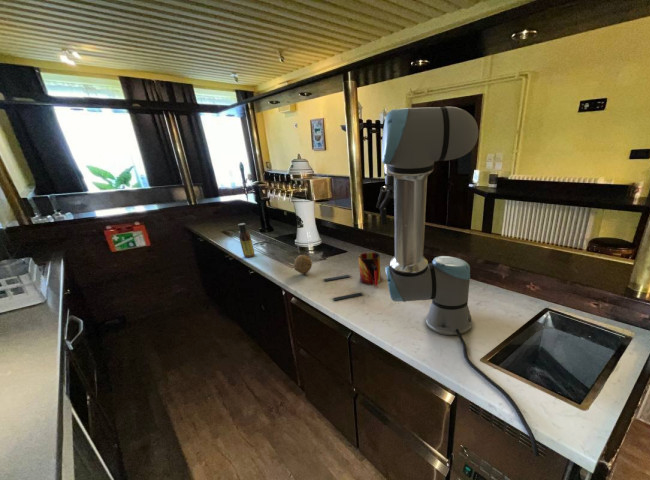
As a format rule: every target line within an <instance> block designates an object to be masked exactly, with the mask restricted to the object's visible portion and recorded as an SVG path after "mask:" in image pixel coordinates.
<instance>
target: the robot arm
mask: <svg viewBox="0 0 650 480" xmlns="http://www.w3.org/2000/svg"><path fill="white" fill-rule="evenodd" d="M478 138H479V127H478V123H477V121H476V119H475V118H474V117H473V115H471V114H470V113H469V112H468V111H467V110H465V109H462V108H459V107H456V106H436V107H435V106H434V107H433V106H432V107H403V108H397V109H396V108H395V109H391V110H389V111H388V112H387V114H386V115H385V118H384V124H383V131H382V142H381V162H382V164H383V165H384V174H385V176H384V182H385V183H384V184H385V185H384V186H380V191H379V195H378V198H377V202H376V205H375V207H376V209H378V210H379V217H380V223H381V226H385V225H387V224H388V221H387V208H386V207H387V205H388V204H389V202H390V201H391V199H393V201H394V202H393V205H394V207H393V208H394V209H393V210H394V211H393V212H394V213H393V214H394V217H393V218H394V256H393V257H391V259H390V260H389V265H387V266H385V269H384V270H385V274H386V280H387V285H388V292H389V297H390V299H391V301H393V302H395V303H397V302H401V303H402V302H403V303H407V302H416V301H430V300H431V303H429V310H428V313H427V314H426V319H425V323H426V327H427V328H428V329H430V330H431V331H432V332H434V333H436V334H438V335H443V336H458V338H459V340H460V342H461V345H462V350H463V351H462V352H463V356H464V358H465V361H466V362H467V364H468V366H470V367H471V369H473V370H474V371H475V372H476V373H477V374H479V375H480V376H481V377H482V378H483V379H485V380H486V382H488V383H489V384H490V385H491V386H493V387H494V388H495V389H496V390H497V391H499V392H500V393H501V394H502V395H503V397H505V398H506V400H507V401H508V402H509V403H510V405H511V406H512V407H513V409H514V410H515V412H516V414H517V415H518V416H517V417H518V418H519V419H520V421H521V423H522V425H523V427H524V429H525V430H526V433H527V434H528V437H529V439H530V442H531V445H532V446H531V447H532V451H533V454H534V456H536V457H540V450H539V447H538V443H537V439H536V437H535V435H534V433H533V431H532V429H531V427H530V426H529V424H528V422H527V420H526V418H525V417H524V415H523V412H522V411H521V409H520V407H519V406H518V405H517V403H516V402H515V400H514V399H513V398H512V397H511V396H510V394H509V393H508V392H507V391H506V390H505V389H504V388H502V387H501V386H500V385H499V384H498V383H496V381H494V380H492V379H491V378H490V377H489V376H488V375H487V374H485V372H484V371H482V370H481V369H480V368H478V367H477V366H476V365H475V364H474V363H473V362H472V361H471V360H470V358H469V355H468V351H467V350H468V348H467V345H466V342H465V340H464V338H463V336H462V335H463V334H466V333H467V332H469V331H470V330H471V328H472V323H473V320H472V316H471V312H470V309H469V303H468V302H469V292H470V281H471V266H470V263H468V262H467V261H466V260H463V259H462V258H459V257H455V256H449V255H440V256H436V257H434V258H433V260H432V262H431V263H429V262H428V261H429V260H428V259H427V258H426V257H425V256H424V251H425V250H424V249H425V248H424V247H425V230H426V229H425V228H426V210H427V209H426V206H427V191H428V190H427V189H428V176H429V175H431V173H433V171H434V169H435V162H443V161H452V160H457V159H459V158H462V157H464V156H466V155H468V154H469V153H470V152H471V151H473V149H474V147H475V146H476V144H477V142H478Z"/></svg>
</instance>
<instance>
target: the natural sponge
mask: <svg viewBox="0 0 650 480" xmlns="http://www.w3.org/2000/svg"><path fill="white" fill-rule="evenodd" d="M312 266H313V262H312V260H311V258H310V257H309V256H308V255H306V254H300V255H298V256H297V257H296V258H295V259H294V262H293V269H294V271H296V272H298V273H300V274H301V275H305V274H307V273H309V271H310V270H311V269H312Z"/></svg>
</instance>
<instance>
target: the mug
mask: <svg viewBox="0 0 650 480" xmlns="http://www.w3.org/2000/svg"><path fill="white" fill-rule="evenodd" d="M357 258H358V269H359V280H360V283H361V284H364V285H374V286H375V287H378V286H379V283H380V282H381V280H382V274H381V273H382V272H381V256H380V254H379V253H377V252H363V253H360V254H359V255H358V257H357Z"/></svg>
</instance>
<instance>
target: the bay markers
mask: <svg viewBox="0 0 650 480" xmlns="http://www.w3.org/2000/svg"><path fill="white" fill-rule="evenodd" d="M350 277H351V276H350V274H345V275H339V276H333V277H328V278H324V279H323V280H324V282H330V281H331V282H332V281H337V280H342V279H349V278H350ZM362 296H363V293H362V292H356V293H351V294H345V295H342V296H337V297H333V301H334V302H338V301H342V300H347V299H352V298H358V297H362Z"/></svg>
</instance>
